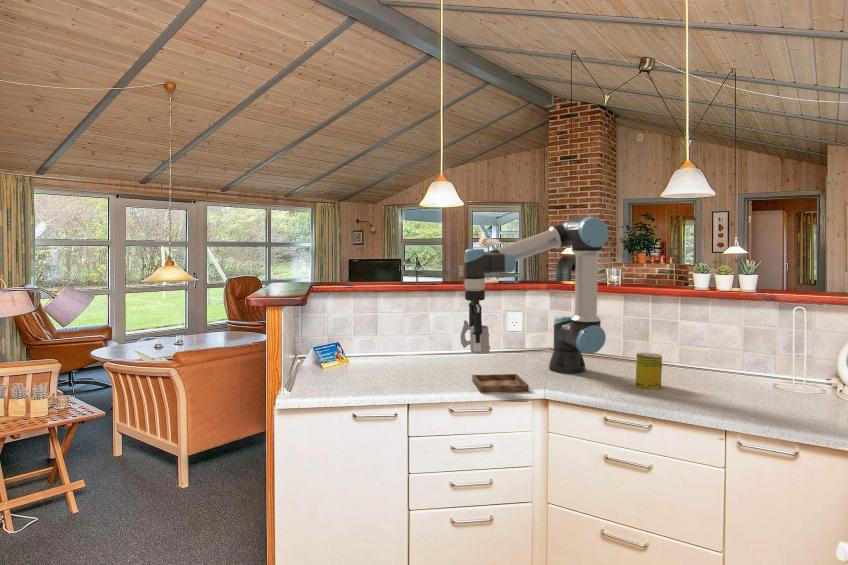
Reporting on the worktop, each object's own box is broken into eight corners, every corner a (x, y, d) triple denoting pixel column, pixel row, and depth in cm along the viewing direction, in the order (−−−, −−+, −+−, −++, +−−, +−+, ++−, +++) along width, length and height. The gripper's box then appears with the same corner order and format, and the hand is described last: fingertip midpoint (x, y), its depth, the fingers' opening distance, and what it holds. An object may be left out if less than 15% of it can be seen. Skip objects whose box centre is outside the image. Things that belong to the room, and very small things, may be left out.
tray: (516, 379, 222) (516, 373, 221) (528, 391, 205) (528, 385, 205) (472, 380, 220) (472, 374, 220) (480, 392, 203) (480, 386, 203)
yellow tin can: (661, 390, 207) (662, 358, 206) (635, 387, 210) (636, 356, 209) (660, 384, 215) (661, 353, 214) (635, 381, 218) (636, 351, 217)
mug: (487, 354, 208) (486, 323, 207) (457, 352, 212) (456, 321, 211) (492, 350, 215) (492, 319, 214) (463, 348, 219) (463, 318, 218)
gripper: (461, 287, 220) (461, 343, 222) (469, 292, 200) (470, 355, 202) (479, 286, 221) (480, 343, 223) (489, 292, 201) (490, 354, 203)
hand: (475, 348), depth 213 cm, fingers closed on mug, 8 cm apart
